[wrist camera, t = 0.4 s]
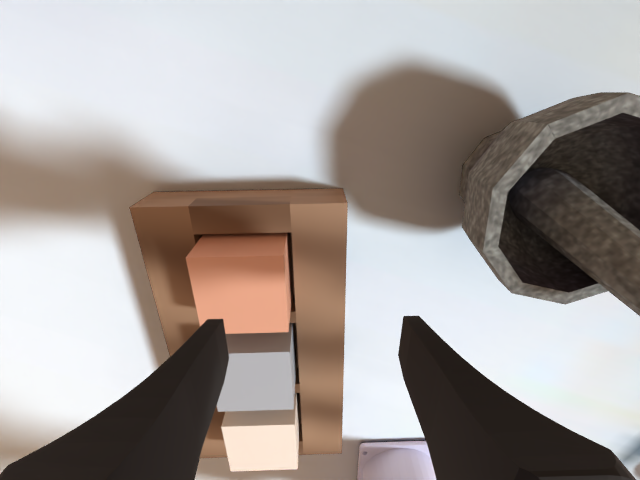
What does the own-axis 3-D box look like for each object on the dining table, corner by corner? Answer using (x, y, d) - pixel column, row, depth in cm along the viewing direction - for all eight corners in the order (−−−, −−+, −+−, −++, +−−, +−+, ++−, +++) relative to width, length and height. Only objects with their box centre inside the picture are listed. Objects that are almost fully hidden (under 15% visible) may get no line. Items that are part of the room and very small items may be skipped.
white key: (299, 425, 27) (297, 469, 24) (240, 427, 27) (230, 471, 24) (296, 382, 25) (294, 424, 22) (232, 384, 25) (221, 426, 22)
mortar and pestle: (403, 165, 20) (513, 251, 9) (544, 55, 18) (911, -3, 7) (488, 281, 24) (636, 440, 13) (614, 203, 22) (923, 316, 11)
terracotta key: (291, 297, 22) (288, 332, 19) (217, 299, 22) (201, 334, 19) (287, 229, 20) (283, 255, 17) (205, 230, 20) (185, 257, 17)
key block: (338, 420, 30) (341, 453, 27) (208, 424, 30) (197, 458, 27) (342, 188, 21) (347, 203, 18) (153, 192, 20) (129, 207, 18)
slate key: (296, 368, 25) (293, 409, 21) (230, 370, 25) (218, 411, 21) (292, 315, 23) (289, 351, 19) (220, 316, 22) (205, 354, 19)
